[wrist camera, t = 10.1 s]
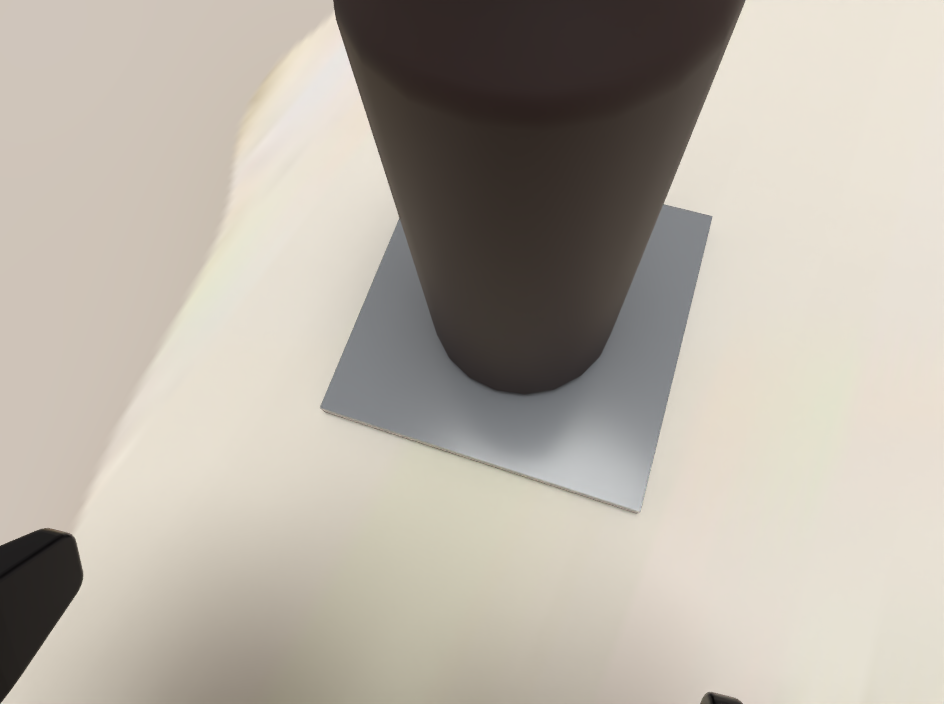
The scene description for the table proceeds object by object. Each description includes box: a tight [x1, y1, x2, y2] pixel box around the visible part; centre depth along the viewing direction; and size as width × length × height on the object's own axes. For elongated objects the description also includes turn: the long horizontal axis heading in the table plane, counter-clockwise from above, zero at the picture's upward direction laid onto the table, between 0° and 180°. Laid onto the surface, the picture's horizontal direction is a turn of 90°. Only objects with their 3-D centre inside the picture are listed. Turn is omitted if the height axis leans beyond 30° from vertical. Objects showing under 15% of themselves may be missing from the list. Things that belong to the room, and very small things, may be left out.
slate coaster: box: [320, 204, 712, 513], centre depth 24 cm, size 12×12×1 cm
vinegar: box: [333, 0, 745, 394], centre depth 15 cm, size 7×7×20 cm
